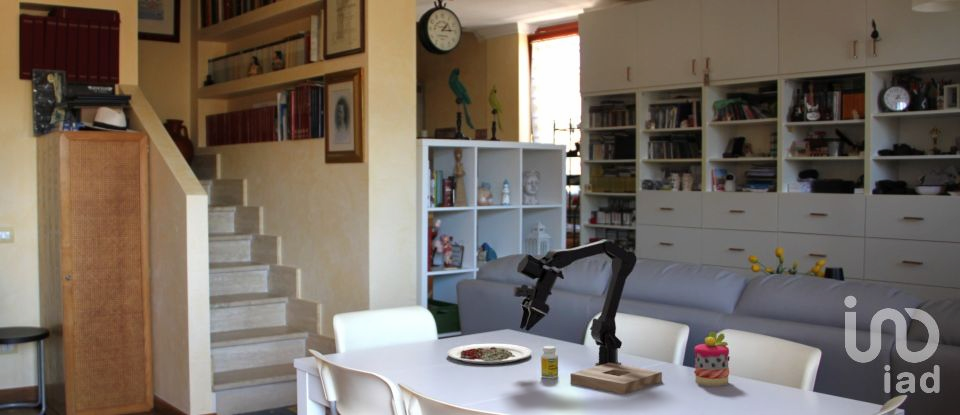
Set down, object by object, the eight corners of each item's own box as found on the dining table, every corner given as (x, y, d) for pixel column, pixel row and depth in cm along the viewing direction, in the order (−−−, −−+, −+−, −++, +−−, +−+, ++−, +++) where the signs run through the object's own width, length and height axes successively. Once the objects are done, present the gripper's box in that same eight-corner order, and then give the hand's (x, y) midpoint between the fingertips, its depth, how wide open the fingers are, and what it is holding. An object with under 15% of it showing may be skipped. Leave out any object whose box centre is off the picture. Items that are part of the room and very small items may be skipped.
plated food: (549, 358, 306) (549, 349, 306) (478, 370, 289) (478, 360, 289) (499, 345, 330) (499, 336, 330) (431, 355, 314) (431, 346, 313)
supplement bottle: (551, 374, 281) (550, 344, 281) (561, 377, 277) (561, 347, 276) (538, 376, 278) (537, 346, 278) (548, 379, 274) (547, 349, 273)
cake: (728, 387, 261) (728, 337, 260) (692, 385, 264) (691, 336, 264) (730, 379, 270) (730, 331, 270) (696, 377, 274) (695, 330, 273)
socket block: (609, 371, 283) (608, 362, 283) (661, 381, 269) (661, 371, 269) (570, 383, 269) (570, 373, 269) (624, 393, 255) (624, 383, 255)
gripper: (516, 274, 293) (497, 317, 291) (527, 275, 274) (506, 320, 272) (546, 289, 294) (526, 331, 292) (558, 290, 275) (538, 335, 273)
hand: (523, 329), depth 282 cm, fingers open, 9 cm apart
